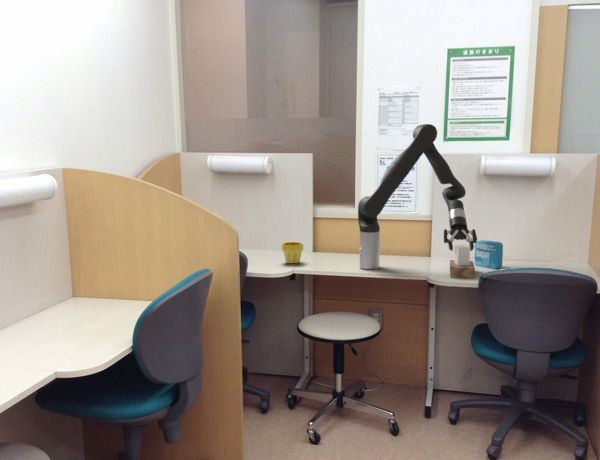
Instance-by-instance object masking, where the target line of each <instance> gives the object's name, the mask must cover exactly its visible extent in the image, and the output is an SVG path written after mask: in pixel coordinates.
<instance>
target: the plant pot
mask: <svg viewBox="0 0 600 460" xmlns="http://www.w3.org/2000/svg"><path fill="white" fill-rule="evenodd" d="M281 249H282V251H283V255H284V260H285V263H286V262H287V263H298V262H299V263H300V262H301V258H302V251H304V243H303V242H300V241H285V242H282V243H281ZM287 263H286V264H287ZM299 263H298V264H299Z"/></svg>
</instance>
